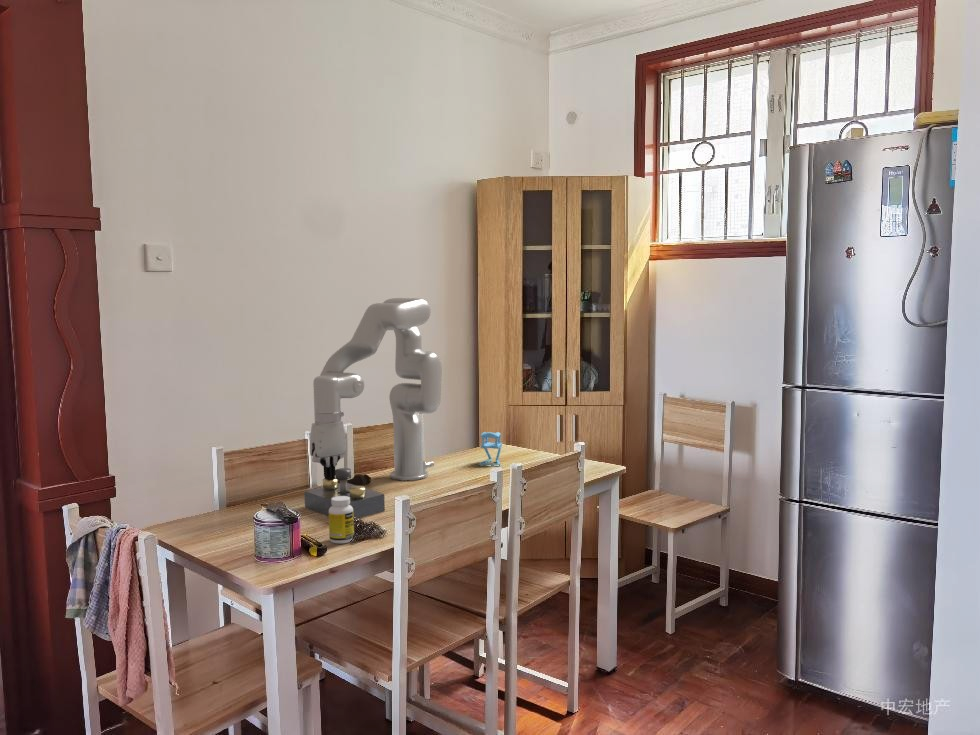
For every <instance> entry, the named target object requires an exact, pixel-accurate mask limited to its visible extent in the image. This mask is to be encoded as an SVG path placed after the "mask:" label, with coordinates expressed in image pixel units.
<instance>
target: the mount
mask: <svg viewBox="0 0 980 735" xmlns="http://www.w3.org/2000/svg"><path fill="white" fill-rule="evenodd" d="M352 486H356V485H353V484H349V483H347V494H343V495H342V494H340V483H339V484H338V487H337V488H335V489H332V490H327V489H324V488H323V486H322V487H321V486H320V487H316V488H313V489H312V488H311V489H308V490H304V508H305V509H307V508H308V510H310V511H313V512H315V511H316V513H318V514H321V515H323V514H324V515H323V516H326V517H329V508H330V507H331V506H332V503H331V499H332V498H333V497H336V496H348V497H350V487H352ZM365 493H366V496H365V497H362V498H359V499H354V498H351V497H350V504H349V505H350V506H352V507H353V517H356V518H357V519H360V518H363V517H368V516H371V515H375V514H380V513H383V512H385V494H384V493H381V492H379V491H376V490H372V489H368V488H366V487H365Z"/></svg>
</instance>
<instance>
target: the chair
mask: <svg viewBox="0 0 980 735" xmlns="http://www.w3.org/2000/svg"><path fill="white" fill-rule="evenodd" d="M480 437H481V440H482V442H481V443H482V444H481V445H480V449H484V451H485V453H486V455H487V457H488V459H486V460H483V461H480V462H478V466H479V465H491V466H490V467H492V466H494V465H499V466H495V467H497V468H498V467H501V462H500V461H499V460H500V459H499V458H500V454H501V450H502V446H503V442H501V437H502V434H501V432H498V431H497V432H491V431H487V432H486V431H484V432H481V434H480ZM489 439H495V442H488V441H489ZM488 449H494V450H495V449H497V454H496V457H495V463H491V462H489V461H492V460H493V459H492V456H491V454H490V452H489V450H488ZM486 462H489V463H486ZM495 467H494V468H495Z"/></svg>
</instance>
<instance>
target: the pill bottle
mask: <svg viewBox="0 0 980 735" xmlns="http://www.w3.org/2000/svg"><path fill="white" fill-rule="evenodd" d="M331 503H332V506H331V507H330V508H329V516H328V531H329V532H328V533H329V537H328V538H329V541H330V543H332V544H339V545H340V544H341V545H342V544H348V543H350V541H351V540H352V537H353V535H354V536H355V525H354V520H355V519H353V507H352V506H350V505H349V504H350V497H348V496H336V497H333V498H332V499H331ZM352 541H353V540H352ZM352 541H351V542H352Z"/></svg>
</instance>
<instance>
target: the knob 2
mask: <svg viewBox="0 0 980 735" xmlns="http://www.w3.org/2000/svg"><path fill="white" fill-rule="evenodd" d="M365 488H366V485H365V486H352V487H350V497H351V498H354V499H359V498H362V497H365V496H366V493H365Z"/></svg>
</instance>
